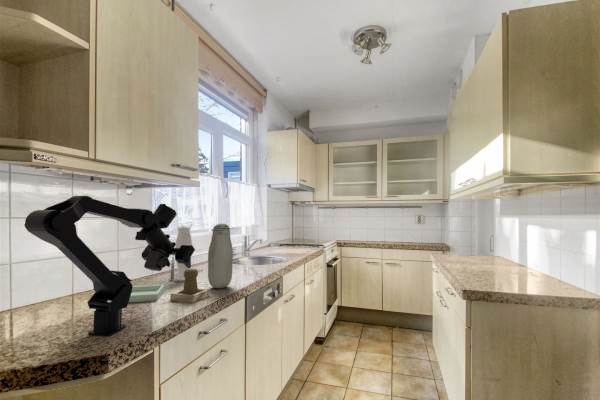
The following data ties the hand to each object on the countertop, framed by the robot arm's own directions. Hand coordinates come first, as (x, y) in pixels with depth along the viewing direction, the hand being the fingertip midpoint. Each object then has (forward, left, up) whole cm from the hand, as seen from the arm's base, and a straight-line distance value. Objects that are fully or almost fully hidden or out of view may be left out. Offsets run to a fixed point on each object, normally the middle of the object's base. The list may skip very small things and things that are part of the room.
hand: (179, 266), depth 108 cm
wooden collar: (+6, -1, -13) cm, 14 cm away
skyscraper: (+35, +18, -13) cm, 41 cm away
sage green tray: (+5, +19, -13) cm, 23 cm away
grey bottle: (+23, -6, -13) cm, 27 cm away
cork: (+6, -1, -13) cm, 15 cm away
